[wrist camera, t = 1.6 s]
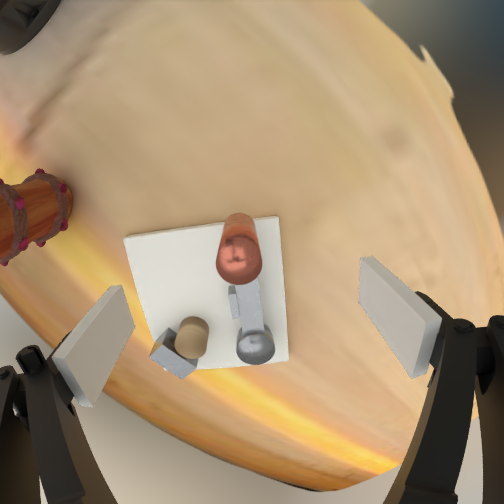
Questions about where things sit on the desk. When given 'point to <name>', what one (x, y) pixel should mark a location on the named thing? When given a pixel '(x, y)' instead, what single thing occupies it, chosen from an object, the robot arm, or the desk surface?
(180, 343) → the tan short cylinder
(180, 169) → the desk surface
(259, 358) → the lever
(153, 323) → the bench board
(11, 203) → the mug
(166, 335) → the grey rectangular block
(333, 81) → the desk surface
